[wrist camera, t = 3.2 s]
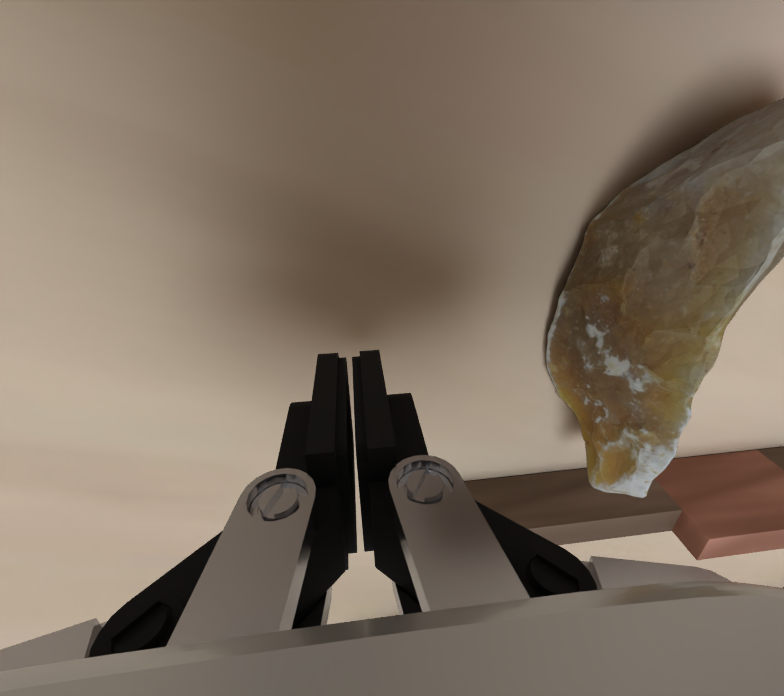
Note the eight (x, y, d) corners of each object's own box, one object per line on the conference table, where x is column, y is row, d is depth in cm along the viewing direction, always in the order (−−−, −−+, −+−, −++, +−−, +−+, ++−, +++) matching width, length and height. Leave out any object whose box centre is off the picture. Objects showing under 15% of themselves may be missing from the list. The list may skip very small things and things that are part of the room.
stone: (1159, 36, 7) (735, 583, 13) (835, 103, 13) (649, 459, 19) (736, -5, 7) (524, 536, 14) (612, 77, 13) (503, 430, 19)
